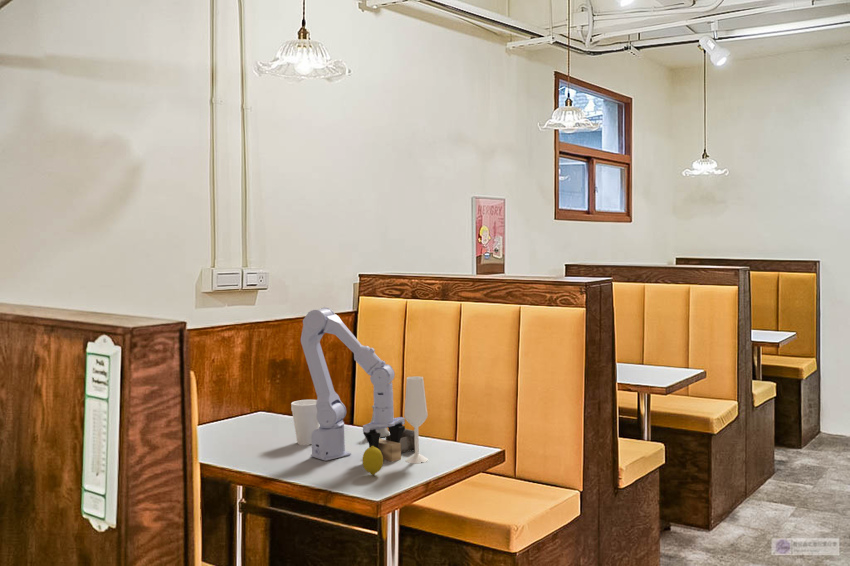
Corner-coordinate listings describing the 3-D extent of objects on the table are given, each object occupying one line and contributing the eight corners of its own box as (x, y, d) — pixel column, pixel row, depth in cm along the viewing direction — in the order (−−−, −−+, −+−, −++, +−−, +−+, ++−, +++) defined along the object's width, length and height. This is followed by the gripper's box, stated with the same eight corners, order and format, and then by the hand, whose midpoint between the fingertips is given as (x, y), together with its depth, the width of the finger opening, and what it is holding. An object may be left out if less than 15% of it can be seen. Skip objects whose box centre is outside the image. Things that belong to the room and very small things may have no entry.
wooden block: (401, 459, 227) (400, 443, 226) (392, 462, 224) (391, 445, 224) (378, 454, 234) (377, 438, 233) (369, 456, 231) (368, 440, 231)
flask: (379, 439, 251) (378, 408, 251) (362, 436, 256) (361, 406, 255) (393, 434, 257) (392, 404, 257) (376, 432, 261) (376, 402, 261)
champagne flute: (402, 458, 227) (400, 377, 226) (423, 456, 229) (421, 375, 228) (410, 464, 220) (407, 380, 219) (432, 461, 223) (430, 378, 222)
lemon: (383, 471, 214) (382, 443, 213) (383, 477, 208) (382, 448, 208) (363, 472, 214) (362, 443, 213) (362, 478, 208) (361, 448, 208)
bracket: (403, 454, 231) (402, 434, 231) (381, 449, 238) (381, 429, 238) (417, 450, 235) (417, 431, 235) (396, 445, 242) (395, 426, 242)
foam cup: (325, 444, 246) (324, 403, 246) (296, 447, 243) (295, 406, 242) (318, 437, 255) (316, 398, 255) (290, 441, 252) (288, 401, 251)
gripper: (373, 412, 220) (374, 459, 221) (411, 404, 230) (412, 449, 231) (357, 409, 226) (359, 455, 226) (395, 401, 235) (396, 446, 236)
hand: (385, 452), depth 229 cm, fingers open, 7 cm apart
